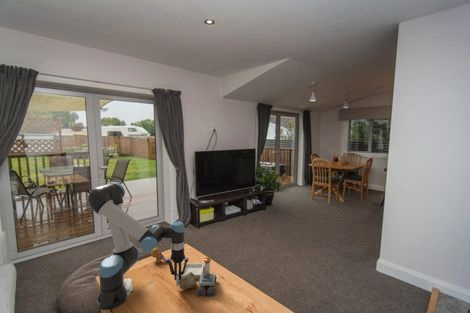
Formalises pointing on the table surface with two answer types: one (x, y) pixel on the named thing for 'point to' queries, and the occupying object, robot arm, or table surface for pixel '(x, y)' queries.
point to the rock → (188, 281)
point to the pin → (207, 267)
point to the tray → (193, 269)
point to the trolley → (203, 282)
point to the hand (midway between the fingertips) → (177, 284)
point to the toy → (157, 255)
